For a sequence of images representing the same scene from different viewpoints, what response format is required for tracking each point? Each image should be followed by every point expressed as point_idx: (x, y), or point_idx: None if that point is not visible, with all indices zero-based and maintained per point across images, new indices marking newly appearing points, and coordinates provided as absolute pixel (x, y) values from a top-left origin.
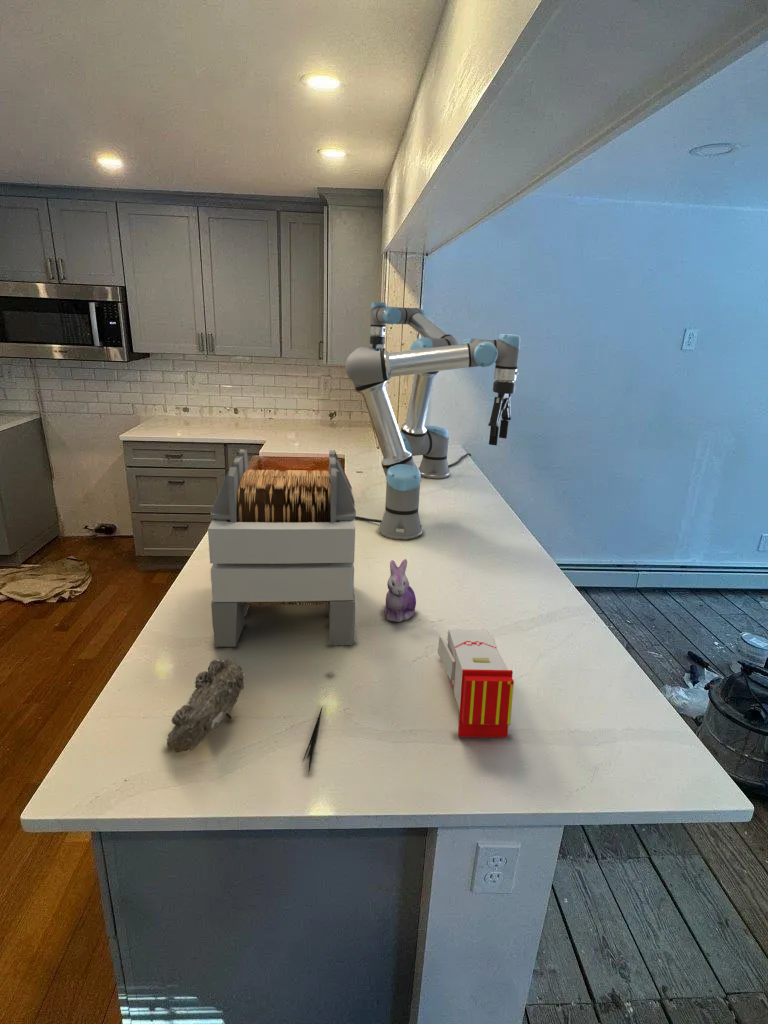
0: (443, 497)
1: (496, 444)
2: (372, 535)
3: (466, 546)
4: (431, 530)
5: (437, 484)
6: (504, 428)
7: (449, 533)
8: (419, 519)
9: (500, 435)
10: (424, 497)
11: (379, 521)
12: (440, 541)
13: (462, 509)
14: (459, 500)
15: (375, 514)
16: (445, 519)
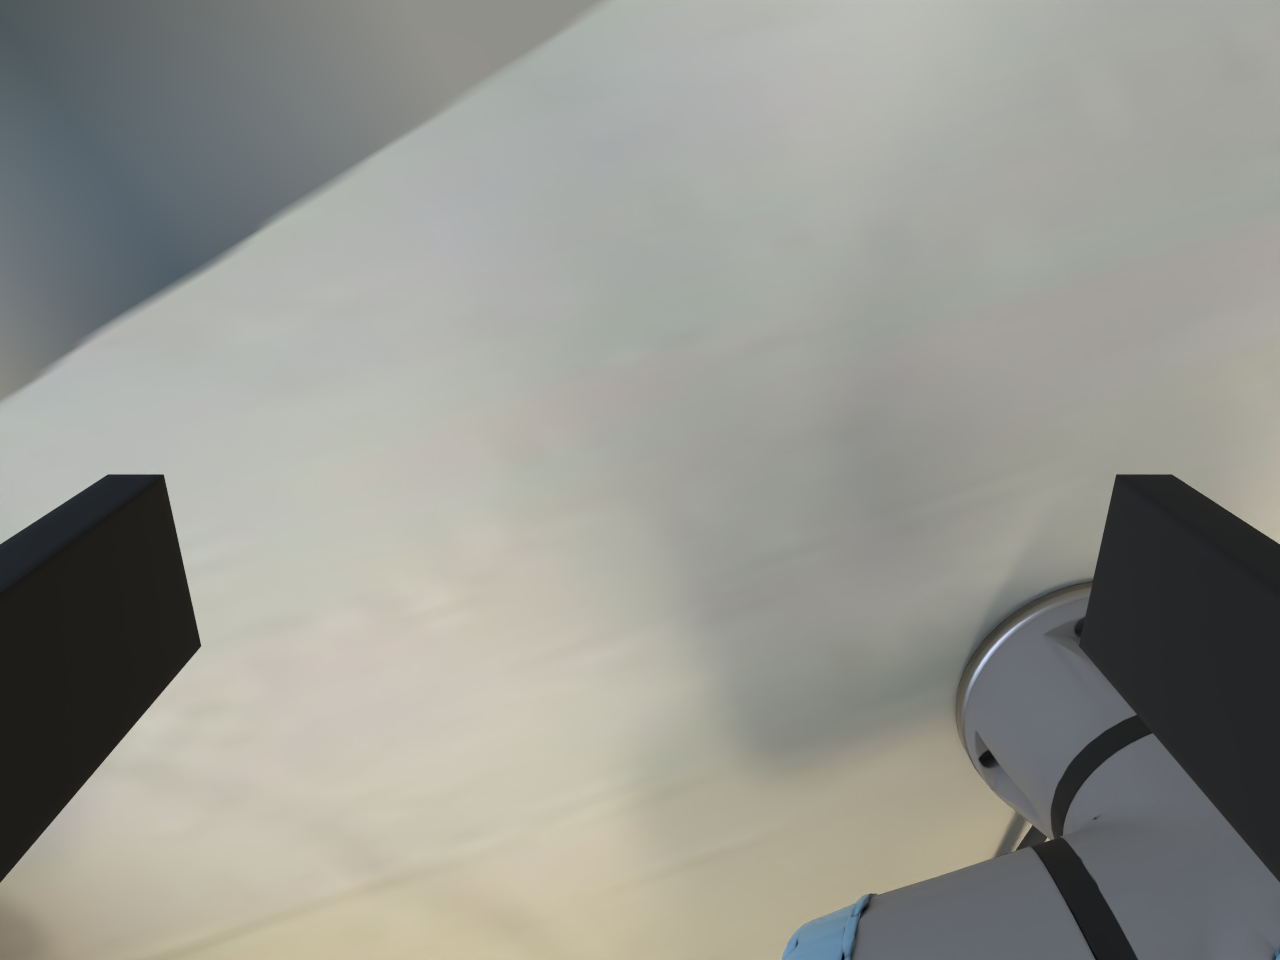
0: (293, 702)
1: (1186, 485)
2: None
3: (1177, 267)
4: (974, 558)
5: None
6: (2, 701)
7: (979, 443)
8: (1088, 660)
9: (164, 650)
10: (383, 796)
11: (1043, 838)
12: (1146, 447)
13: (454, 517)
14: (275, 595)
15: (857, 897)
16: (726, 550)
